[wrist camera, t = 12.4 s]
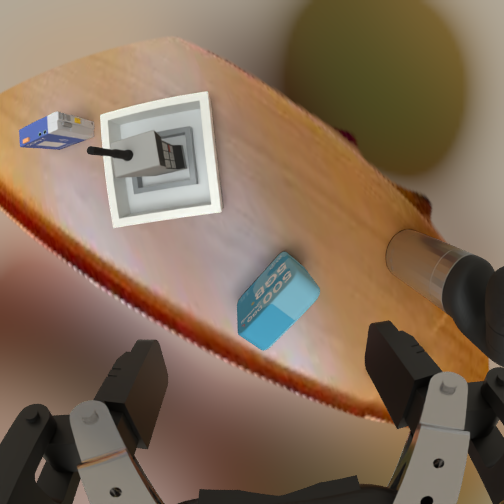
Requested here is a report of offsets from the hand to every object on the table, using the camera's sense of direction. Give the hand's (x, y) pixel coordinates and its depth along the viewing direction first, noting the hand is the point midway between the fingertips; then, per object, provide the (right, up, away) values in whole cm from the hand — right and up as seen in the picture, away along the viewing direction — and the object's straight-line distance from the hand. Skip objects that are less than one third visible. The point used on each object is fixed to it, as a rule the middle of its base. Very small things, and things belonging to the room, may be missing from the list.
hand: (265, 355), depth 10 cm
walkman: (-31, +24, +30) cm, 49 cm away
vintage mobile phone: (-13, +18, +32) cm, 39 cm away
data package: (+2, -1, +39) cm, 39 cm away
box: (-14, +18, +32) cm, 39 cm away
